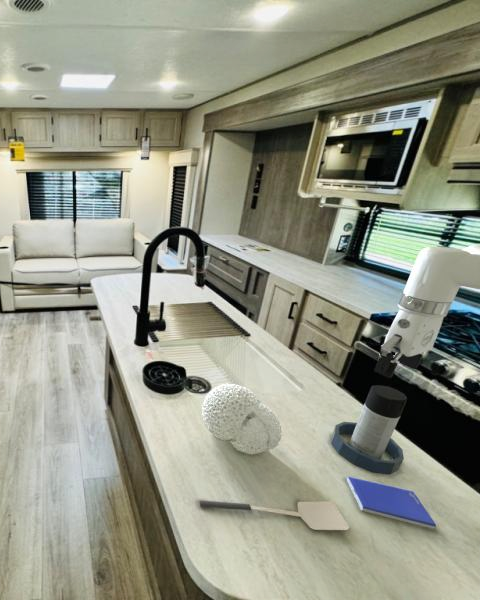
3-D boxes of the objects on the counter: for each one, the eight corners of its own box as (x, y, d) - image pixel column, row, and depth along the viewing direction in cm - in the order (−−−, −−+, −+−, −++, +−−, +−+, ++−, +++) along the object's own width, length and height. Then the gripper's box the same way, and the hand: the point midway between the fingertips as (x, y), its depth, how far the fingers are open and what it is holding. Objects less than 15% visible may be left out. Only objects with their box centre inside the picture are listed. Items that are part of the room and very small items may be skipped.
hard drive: (413, 490, 72) (348, 475, 76) (436, 525, 65) (363, 506, 69) (410, 495, 72) (346, 480, 76) (434, 530, 65) (361, 511, 69)
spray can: (387, 465, 80) (416, 402, 73) (357, 462, 81) (383, 400, 74) (369, 444, 86) (394, 385, 79) (341, 442, 87) (364, 383, 80)
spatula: (348, 534, 65) (351, 529, 64) (202, 517, 69) (203, 513, 68) (330, 506, 71) (332, 501, 70) (196, 492, 74) (197, 487, 74)
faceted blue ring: (351, 427, 92) (355, 416, 91) (410, 464, 80) (415, 452, 79) (319, 440, 88) (323, 429, 86) (376, 481, 76) (382, 469, 74)
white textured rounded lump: (188, 419, 85) (228, 374, 82) (192, 407, 101) (226, 369, 98) (254, 480, 77) (301, 432, 75) (248, 457, 93) (286, 417, 91)
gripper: (423, 317, 62) (392, 387, 68) (469, 304, 68) (436, 370, 74) (378, 303, 69) (354, 369, 75) (424, 293, 74) (397, 355, 80)
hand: (395, 370), depth 74 cm, fingers open, 9 cm apart
